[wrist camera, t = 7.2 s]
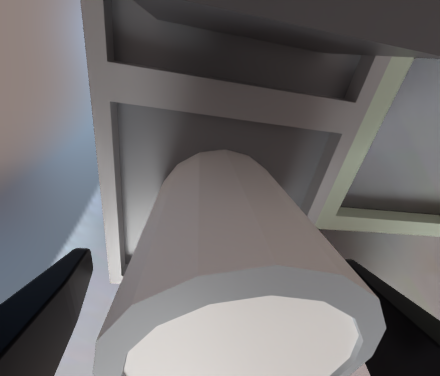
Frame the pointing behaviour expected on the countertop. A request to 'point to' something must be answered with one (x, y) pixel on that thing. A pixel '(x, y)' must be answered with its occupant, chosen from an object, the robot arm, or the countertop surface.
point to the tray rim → (354, 217)
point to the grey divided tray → (235, 91)
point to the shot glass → (235, 285)
